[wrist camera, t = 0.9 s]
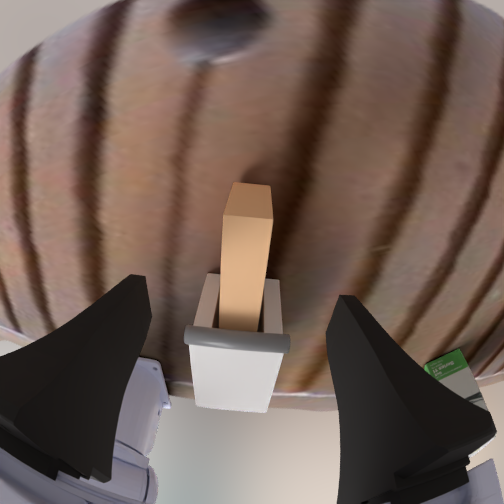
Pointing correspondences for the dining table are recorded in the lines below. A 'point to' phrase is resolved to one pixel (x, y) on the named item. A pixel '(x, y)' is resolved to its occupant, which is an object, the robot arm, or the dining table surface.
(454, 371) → the ink box
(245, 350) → the box
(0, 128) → the dining table surface
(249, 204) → the tan rectangular bar
